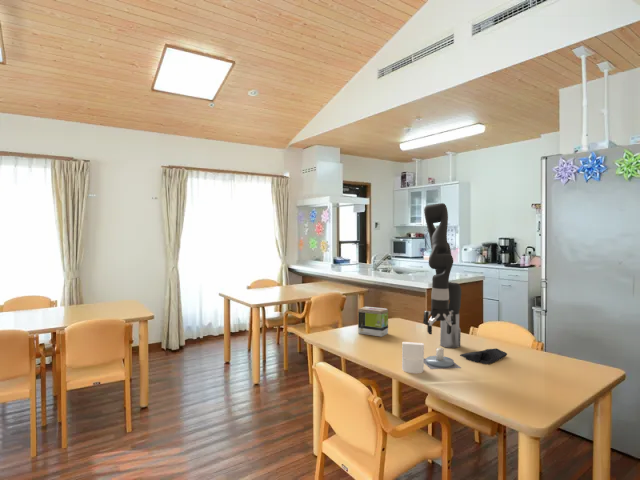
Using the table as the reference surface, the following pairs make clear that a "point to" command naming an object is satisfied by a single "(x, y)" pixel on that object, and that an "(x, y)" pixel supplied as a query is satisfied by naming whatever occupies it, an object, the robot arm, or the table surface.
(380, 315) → the tea box
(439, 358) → the lid
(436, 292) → the robot arm
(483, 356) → the dark slate chunk
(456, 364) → the mat
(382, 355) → the table surface
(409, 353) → the white cylinder
